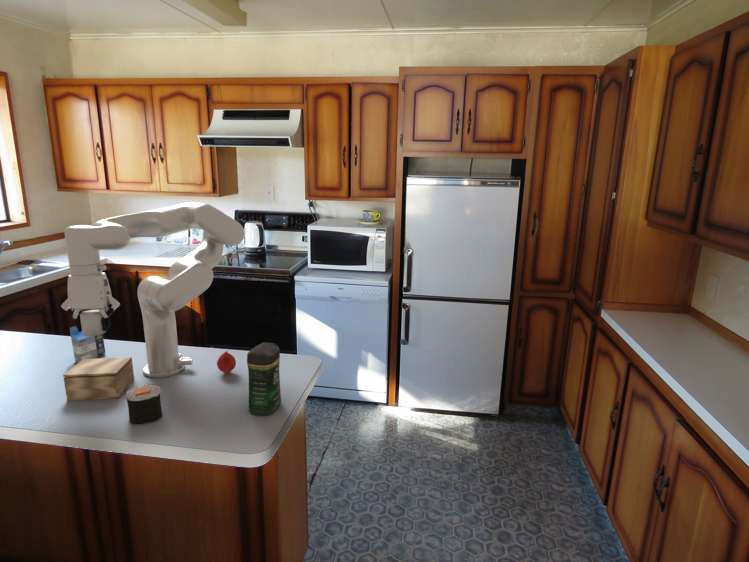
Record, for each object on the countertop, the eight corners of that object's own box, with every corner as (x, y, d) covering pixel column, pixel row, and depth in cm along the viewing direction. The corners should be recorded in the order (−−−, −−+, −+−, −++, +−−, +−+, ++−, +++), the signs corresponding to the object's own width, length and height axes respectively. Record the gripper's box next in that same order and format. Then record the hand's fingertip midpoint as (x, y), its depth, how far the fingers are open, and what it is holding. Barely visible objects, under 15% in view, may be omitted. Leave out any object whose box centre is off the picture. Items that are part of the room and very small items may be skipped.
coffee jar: (272, 418, 126) (270, 354, 122) (245, 415, 127) (241, 351, 123) (285, 401, 135) (283, 341, 131) (259, 398, 137) (257, 338, 132)
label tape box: (81, 363, 157) (76, 329, 154) (74, 361, 159) (69, 327, 156) (106, 354, 165) (101, 321, 162) (98, 352, 167) (94, 320, 164)
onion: (213, 375, 150) (212, 352, 148) (225, 368, 156) (224, 346, 154) (228, 378, 148) (227, 355, 146) (240, 371, 154) (238, 349, 152)
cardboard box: (134, 379, 146) (131, 359, 145) (119, 398, 135) (116, 376, 133) (86, 381, 145) (83, 360, 143) (67, 400, 133) (63, 378, 131)
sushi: (165, 419, 125) (162, 392, 123) (130, 427, 120) (127, 399, 118) (160, 406, 131) (157, 380, 129) (127, 413, 127) (124, 387, 125)
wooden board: (131, 359, 145) (131, 357, 145) (116, 375, 133) (115, 373, 133) (83, 360, 143) (83, 358, 143) (63, 376, 131) (63, 374, 131)
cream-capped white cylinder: (109, 328, 139) (107, 309, 137) (101, 335, 133) (98, 315, 131) (88, 329, 138) (85, 309, 136) (78, 336, 132) (75, 316, 130)
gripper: (123, 266, 135) (130, 324, 140) (59, 267, 133) (68, 326, 138) (113, 272, 128) (120, 333, 133) (45, 273, 126) (55, 335, 130)
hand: (94, 329), depth 135 cm, fingers closed on cream-capped white cylinder, 6 cm apart
